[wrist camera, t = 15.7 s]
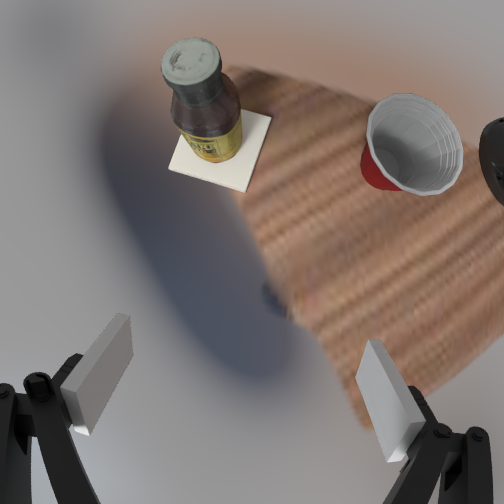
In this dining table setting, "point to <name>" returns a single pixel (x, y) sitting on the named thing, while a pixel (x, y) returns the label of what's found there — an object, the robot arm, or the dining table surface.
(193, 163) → the cream pad
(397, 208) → the dining table surface
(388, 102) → the plastic cup
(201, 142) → the sauce bottle
